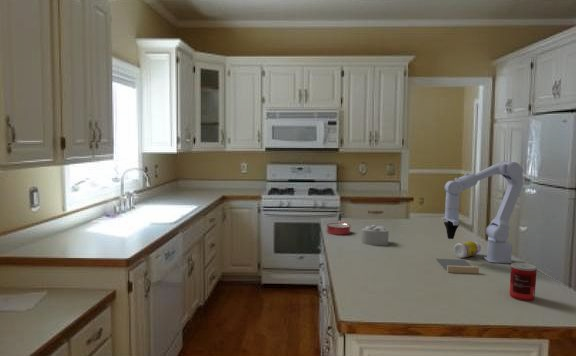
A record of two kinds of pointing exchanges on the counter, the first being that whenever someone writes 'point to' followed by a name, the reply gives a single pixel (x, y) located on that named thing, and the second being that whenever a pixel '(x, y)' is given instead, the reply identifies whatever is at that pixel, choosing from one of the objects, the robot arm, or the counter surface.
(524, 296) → the canned food
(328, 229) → the frying pan
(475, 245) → the supplement bottle
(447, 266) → the mat
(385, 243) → the lumpy-topped squat cylinder
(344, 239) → the counter surface
